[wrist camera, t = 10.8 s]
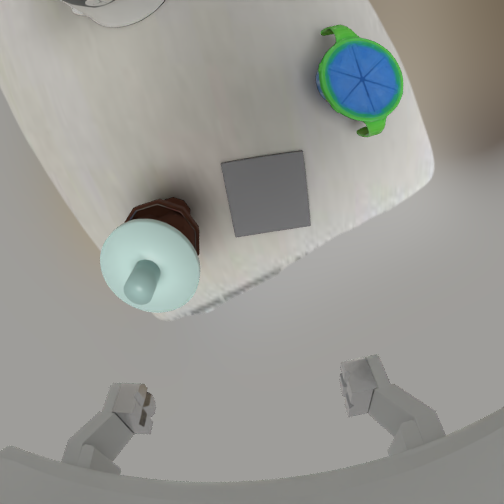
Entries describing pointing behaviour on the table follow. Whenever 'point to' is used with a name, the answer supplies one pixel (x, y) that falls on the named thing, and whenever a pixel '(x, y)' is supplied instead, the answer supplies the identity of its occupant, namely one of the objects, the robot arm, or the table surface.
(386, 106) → the snack cup
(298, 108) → the table surface
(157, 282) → the lid
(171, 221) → the ice cream bowl
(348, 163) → the table surface
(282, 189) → the mat
